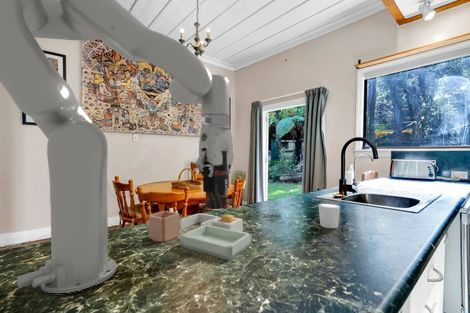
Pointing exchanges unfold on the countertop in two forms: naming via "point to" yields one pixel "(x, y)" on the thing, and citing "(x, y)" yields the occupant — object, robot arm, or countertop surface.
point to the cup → (163, 226)
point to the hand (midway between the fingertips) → (216, 189)
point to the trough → (216, 241)
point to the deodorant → (219, 186)
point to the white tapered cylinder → (329, 215)
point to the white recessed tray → (211, 222)
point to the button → (227, 218)
